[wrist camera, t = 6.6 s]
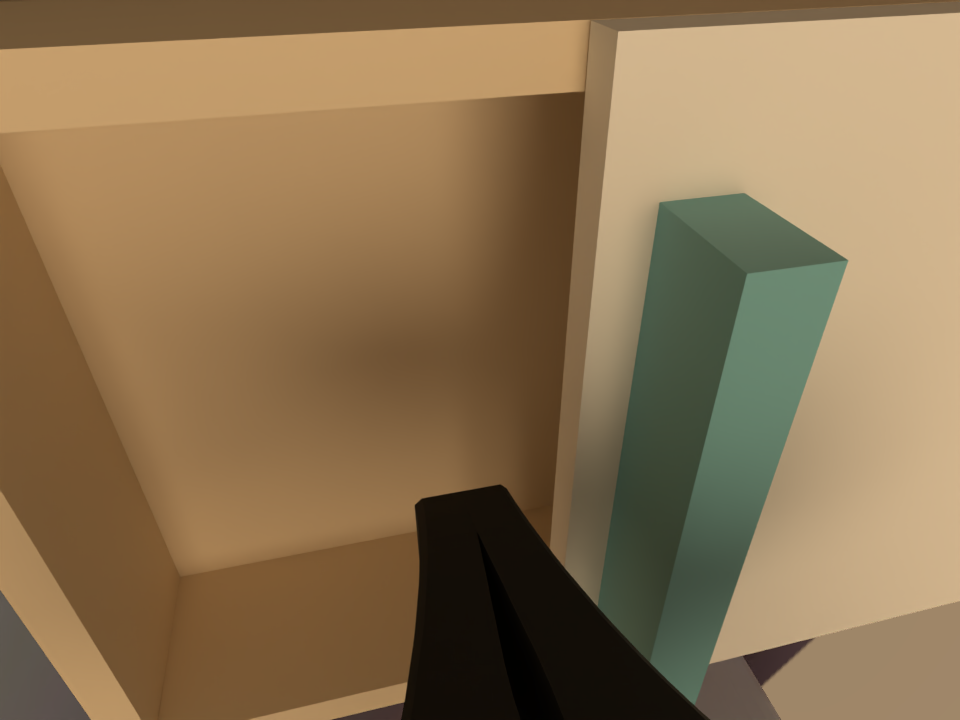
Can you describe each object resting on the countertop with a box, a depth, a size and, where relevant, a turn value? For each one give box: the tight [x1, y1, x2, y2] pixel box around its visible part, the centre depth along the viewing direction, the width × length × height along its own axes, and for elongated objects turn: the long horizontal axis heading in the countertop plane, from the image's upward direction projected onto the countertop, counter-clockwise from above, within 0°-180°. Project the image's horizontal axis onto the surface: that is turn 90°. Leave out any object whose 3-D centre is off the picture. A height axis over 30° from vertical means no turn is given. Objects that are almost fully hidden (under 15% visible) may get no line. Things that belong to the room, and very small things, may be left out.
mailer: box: [0, 0, 960, 720], centre depth 14 cm, size 14×20×5 cm
